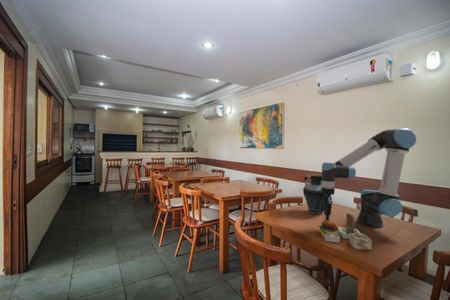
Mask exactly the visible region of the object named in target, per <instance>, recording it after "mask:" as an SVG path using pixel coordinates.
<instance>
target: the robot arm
mask: <svg viewBox="0 0 450 300" xmlns="http://www.w3.org/2000/svg"><path fill="white" fill-rule="evenodd" d="M416 143H417V137H416V134H415V133H414V131H413V130H411V129H409V128H396V129H395V128H393V129H386V130H383V131H380V132H378V133H377V134H375V135H374V136H372V137H371V138H369V139H368V140H367V142H366V143H364V144H362V145H360V146H359V147H358V148H355V149H354V150H353V151H351V152H349V153H348V154H347V155H345V156H344V157H343V156H342V158H340V159H338V160H336V161H335V162H323V163H322V165H321V175H322V182H321V183H322V184H321V186H322V188H321V193H322V194H324V196H323V203H324V211H323V216H324V217H323V219H324V220H328V221H331V219H330V215H331V214H332V207H333V206H332V205H333V199H332V196H333V195H335V189H336V188H335V187H336V179H353V178H355V177H356V176H357V175H356V174H357V170H356V168H355V167H354V165H356V164H358V162H360V161H362V160H363V159H365V158H367V157H368V156H370V155H371V154H373V153H375V152H378V151H379V152H380V150H382V149H385V151H386V152H387V153H386V158H385V162H384V168H383V172H382V177H381V181H380V182H381V183H380V185H379V186H380V188H378V190H377V189H376V190H375V189H374V190H373V189H372V190H371V189H362V190H361V191H360V202H359V203H360V205H359V207H360V209H359V211H358V212H359V213H358V215H357V216H356V222H357V223H358V224H360V225H362V226H366V227H370V228H382V227H383V226H384V222H383V219H382V216H385V217H389V218H393V217H396V216H399V214H401V212H402V210H403V204H402V202H401V201H400V195H399V194H398V189H399V184H400V180H401V173H402V170H403V165H404V160H405V155H406V154H408V153H409V152H410V149H411V148H413V146H415V145H416ZM324 220H323V221H324Z"/></svg>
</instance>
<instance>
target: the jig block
mask: <svg viewBox="0 0 450 300" xmlns="http://www.w3.org/2000/svg"><path fill="white" fill-rule="evenodd" d="M348 243H350V245H351V246H352V248H354V249H358V250H365V251H372V247H373V245H372V244H373V241H372V240H371V239H370V237H369V236H367V235H366V234H363V233H361V234H354V233H349V239H348Z"/></svg>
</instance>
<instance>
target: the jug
mask: <svg viewBox="0 0 450 300" xmlns="http://www.w3.org/2000/svg"><path fill="white" fill-rule="evenodd" d="M308 179H310V180H311V182H310V183H309V181H308ZM303 180H304V187H303V189H302V192H303V196H304V199H305V201H306V205H307V207H308V208H307V210H308V212H309V213H311V214H314V215H322V214H324V203H323V196H324V194H322V193H321V188H322V186H321V184H322V183H321V182H322V174H318V173H311V174H310V175H308V174H307V175H305V176H304V178H303Z"/></svg>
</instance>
